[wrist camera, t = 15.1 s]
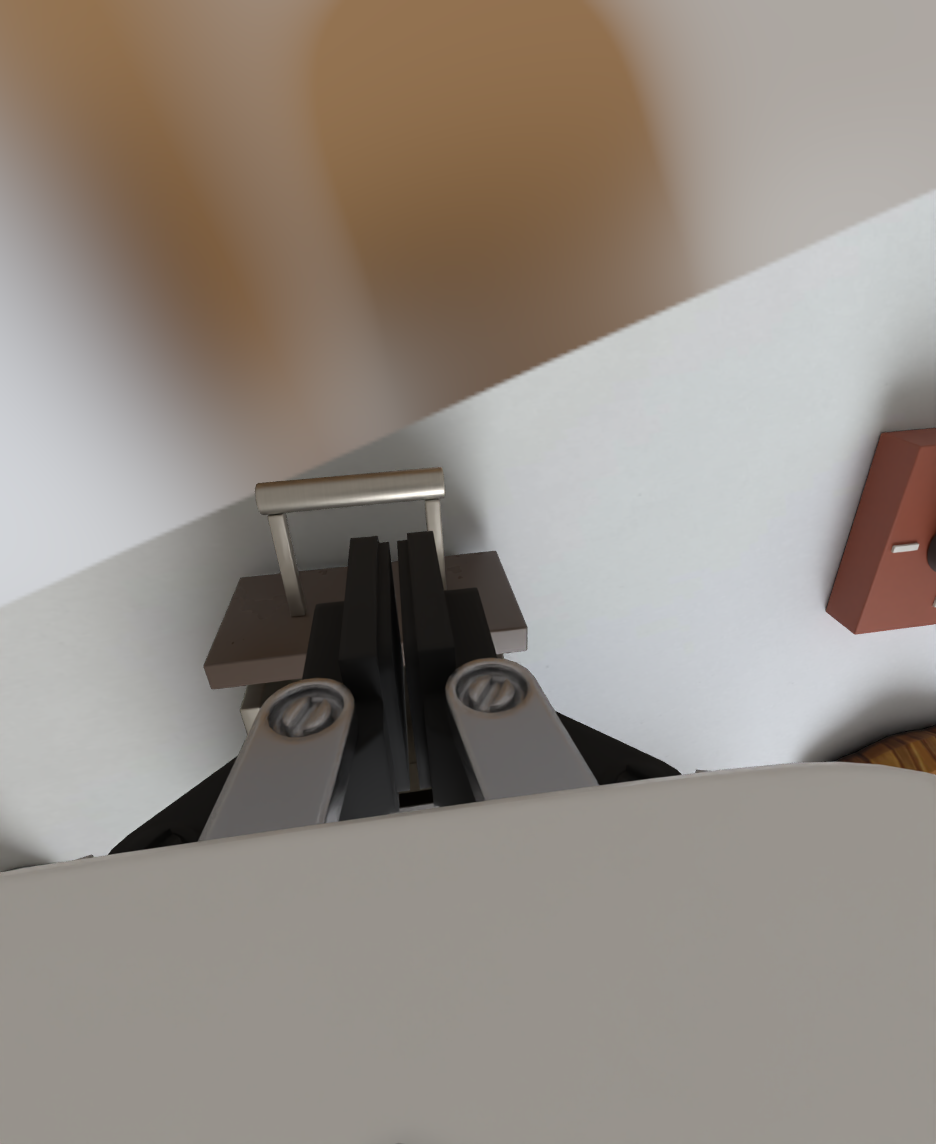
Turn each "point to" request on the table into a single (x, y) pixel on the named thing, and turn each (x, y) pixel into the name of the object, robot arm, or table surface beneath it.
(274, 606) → the drawer front with handle
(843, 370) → the table surface
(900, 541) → the control panel
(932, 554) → the knob
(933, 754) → the croissant
